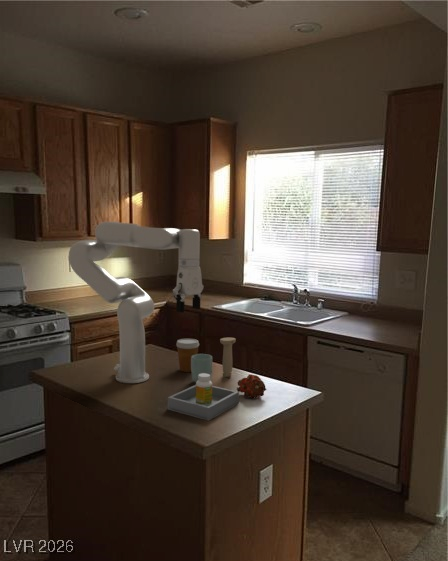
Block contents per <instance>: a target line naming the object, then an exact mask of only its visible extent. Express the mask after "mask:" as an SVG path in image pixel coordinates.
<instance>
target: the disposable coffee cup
mask: <svg viewBox="0 0 448 561" xmlns="http://www.w3.org/2000/svg"><path fill="white" fill-rule="evenodd" d="M199 346H200V343H199V340H197V339H195V338H180V339H177V341H176V347H177V355H178V364H179V371H180V372H186V373H187V372H188V373H189V372H191V357H192V356H193V355H196V354H199V353H198V352H199Z"/></svg>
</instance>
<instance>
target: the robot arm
mask: <svg viewBox="0 0 448 561" xmlns="http://www.w3.org/2000/svg"><path fill="white" fill-rule="evenodd" d="M94 236H95V238H96V239H85V240H84V239H83V240H80V241H76V242H75V243H73V244H72V245H71V246H70V249H69V251H68V261H69V265H70V267H71V269H72V271H73V272H74V273H75V274H76V276H78V278H80V279H81V280H83V281H84V282H85V283H86V284H87V285H88V286H89V287H90V288H91V289H92V290H93V291H94V292H95V293H96V294H98V295H99V296H100V298H102V299H103V300H104V301H106V303H108V304H117V303H119V302H120V303H119V304H118V306H117V310H116V315H117V320H118V329H119V330H118V332H119V363H116V364H115V366H114V367H113V371H116V372H117V374H116V375H115V380H116V381H117V382H119V383H122V382H123V384H137V383H138V384H139V383H143V382H146V381H148V380H149V378H150V374H149V373H148V372H146V332H145V326H144V322H143V319H147V318H148V317H150V316H151V315H152V314H153V313H154V311H155V301H153V299H152V297H151V296H150V295H149V294H148V293H147V292H146V291H145V290H143V289H142V288H141V286H139V285H138V284H137V283H135V282H134V281H133V280H132V279H131V278H128V277H125V276H118V277H115V276H113V275H112V274H110V273H109V272H108V271H107V270H106V269H105V268H104V267H102V266H101V265H99V264H98V263H96V262H99V261H100V262H101V261H102V260H104V259H106V258H108V256H110V255H111V254H112V253H113V252H114V251H115V250H116V249H117V248H119V247H120V246H125V247H133V248H142V249H152V250H171V249H178V267H177V268H178V269H177V275H176V286H175V287H174V289H172V293H173V297H174V298H175V301H176V305H175V306H176V307H175V308H176V313H185V304H186V303H185V298H186V297H189V296H190V297H191V296H193V297H192V309H196V310H201V298H202V294H203V290H204V284H203V279H202V269H201V267H200V254H201V253H200V248H201V246H200V242H201V241H200V240H201V239H200V238H201V235H200V231H199V230H198V229H193V228H192V229H191V228H183V229H180V228H175V227H174V228H173V227H164V228H162V227H151V226H150V227H149V226H140V225H139V224H137V223H131V222H130V223H127V222H119V221H103V222H100V223H98V225H97V226H96V227H95V230H94Z"/></svg>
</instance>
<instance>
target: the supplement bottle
mask: <svg viewBox="0 0 448 561" xmlns="http://www.w3.org/2000/svg"><path fill="white" fill-rule="evenodd" d="M195 385H196V403H197V404H201V405H205V406H209V405H211V404H212V386H213V382H212V381H211V379H210V374H206V373H202V374H199V375H198V381H197V382H195Z"/></svg>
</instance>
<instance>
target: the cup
mask: <svg viewBox="0 0 448 561" xmlns="http://www.w3.org/2000/svg"><path fill="white" fill-rule="evenodd" d="M202 373H206V374H210V380H211V379H212V375H213V356H212V355H211V354H208V353H207V354H206V353H197V354H196V355H193V356H192V357H191V378H192V380H193V382H194V383H196V382H197V381H198V375H199V374H202Z"/></svg>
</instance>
